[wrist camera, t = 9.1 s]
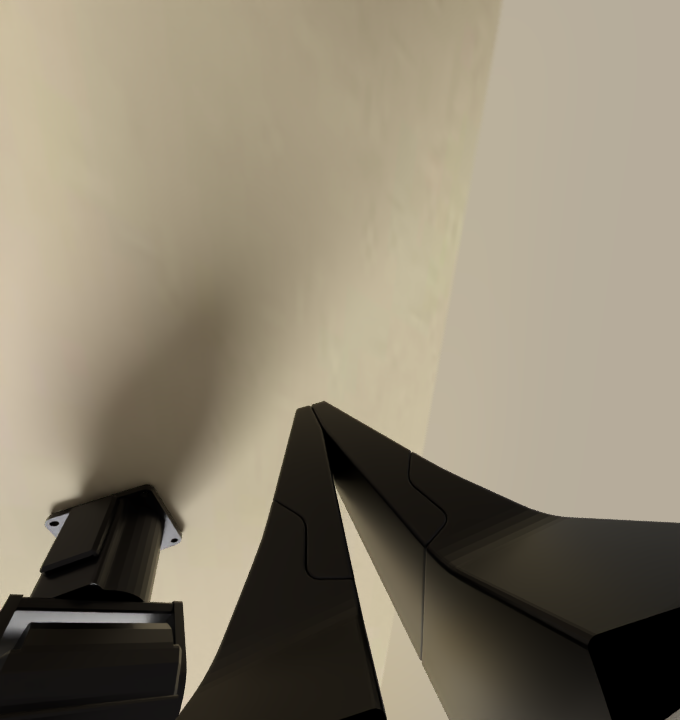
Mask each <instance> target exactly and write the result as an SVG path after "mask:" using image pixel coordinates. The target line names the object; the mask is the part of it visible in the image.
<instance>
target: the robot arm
mask: <svg viewBox="0 0 680 720" xmlns="http://www.w3.org/2000/svg"><path fill="white" fill-rule="evenodd" d="M334 484H335V485H334ZM335 486H336V488H337V491H338V493H339V495H340V497H341V499H342V501H343V503H344V505H345V507H346V509H347V511H348V513H349V515H350V517H351V519H352V521H353V523H354V525H355V527H356V529H357V532H358V534H359V536H360V538H361V540H362V542H363V544H364V546H365V548H366V550H367V552H368V554H369V556H370V558H371V560H372V562H373V564H374V566H375V568H376V570H377V572H378V575H379V577H380V579H381V581H382V583H383V585H384V587H385V589H386V591H387V593H388V595H389V597H390V599H391V601H392V603H393V605H394V607H395V609H396V611H397V613H398V616H399V617H400V619H401V622H402V624H403V626H404V628H405V630H406V632H407V634H408V636H409V638H410V640H411V642H412V644H413V646H414V648H415V650H416V652H417V654H418V656H419V659H420V660H421V661H422V665H423V667H424V669H425V671H426V673H427V675H428V677H429V679H430V681H431V683H432V685H433V687H434V689H435V692H436V694H437V696H438V698H439V700H440V702H441V704H442V706H443V708H444V710H445V712H446V714H447V716H448V718H449V720H680V523H671V522H652V521H631V520H613V519H593V518H573V517H561V516H555V515H550V514H546V513H542V512H539V511H536V510H533V509H530V508H528V507H525V506H523V505H521V504H518V503H516V502H514V501H512V500H510V499H507V498H505V497H503V496H501V495H499V494H496V493H494V492H492V491H490V490H488V489H485V488H483V487H481V486H479V485H476V484H474V483H472V482H470V481H468V480H465V479H463V478H461V477H459V476H457V475H455V474H453V473H451V472H449V471H447V470H445V469H443V468H441V467H439V466H437V465H435V464H434V463H432V462H430V461H428V460H426V459H424V458H423V457H421V456H419V455H417V454H416V453H414V452H411V451H410V450H409V449H407V448H405V447H403V446H402V445H400V444H398V443H396V442H395V441H393V440H391V439H389V438H388V437H386V436H384V435H383V434H381V433H379V432H377V431H376V430H374V429H372V428H370V427H369V426H367V425H365V424H364V423H362V422H360V421H358V420H357V419H355V418H353V417H351V416H350V415H348V414H346V413H344V412H343V411H341V410H339V409H338V408H336V407H334V406H332V405H331V404H329V403H327V402H325V401H322V402H319V403H316V404H313V405H312V406H305V407H302V408H298V409H297V410H296V413H295V417H294V421H293V425H292V428H291V432H290V436H289V440H288V444H287V448H286V452H285V455H284V459H283V463H282V467H281V471H280V475H279V479H278V482H277V486H276V490H275V494H274V498H273V502H272V505H271V509H270V513H269V516H268V520H267V523H266V527H265V530H264V533H263V537H262V540H261V543H260V545H259V548H258V551H257V553H256V556H255V559H254V562H253V564H252V567H251V569H250V572H249V574H248V577H247V580H246V582H245V585H244V587H243V590H242V592H241V595H240V597H239V600H238V602H237V605H236V607H235V610H234V612H233V615H232V617H231V620H230V622H229V625H228V627H227V630H226V633H225V635H224V637H223V640H222V642H221V645H220V647H219V649H218V652H217V654H216V656H215V658H214V660H213V662H212V664H211V666H210V668H209V670H208V672H207V674H206V675H205V677H204V679H203V681H202V682H201V684H200V685H199V687H198V689H197V690H196V692H195V693H194V695H193V696H192V698H191V699H190V700H189V702H188V703H187V704H186V706H185V707H184V709H183V710H182V711H181V713H180V714H179V712H180V709H181V704H182V700H183V695H184V689H185V683H186V672H187V669H186V647H185V632H184V616H183V602H182V601H173V602H172V603H163V602H150V599H151V594H152V589H153V584H154V579H155V574H156V569H157V564H158V559H159V554H160V550H162V549H165V548H168V547H171V546H173V545H176V544H178V543H180V542H181V539H182V533H181V532H180V530H179V528H178V527H177V525H176V523H175V522H174V520H173V519H172V517H171V515H170V514H169V512H168V510H167V509H166V507H165V505H164V504H163V502H162V500H161V499H160V497H159V496H158V494H157V492H156V491H155V489H154V487H152V486H150V485H143V486H140V487H137V488H134V489H130V490H127V491H124V492H121V493H118V494H114V495H111V496H108V497H105V498H102V499H99V500H95V501H92V502H89V503H86V504H83V505H79V506H76V507H73V508H70V509H67V510H64V511H60V512H57V513H54V514H52V515H50V516H49V517H48V518H47V520H46V522H45V526H46V528H47V529H48V530H49V531H50V532H51V533H52V534H53V535H54V536H55V537H56V539H55V541H54V543H53V545H52V547H51V549H50V551H49V553H48V555H47V557H46V559H45V560H44V562H43V564H42V566H41V568H40V572H41V573H42V574H41V576H40V578H39V580H38V582H37V584H36V586H35V588H34V590H33V592H32V594H31V596H30V597H23V595H17V594H10V596H9V597H8V599H7V601H6V602H5V604H4V606H3V607H2V609H1V610H0V720H387V717H386V713H385V709H384V705H383V700H382V697H381V692H380V688H379V683H378V679H377V675H376V671H375V667H374V662H373V658H372V654H371V650H370V646H369V641H368V637H367V633H366V629H365V624H364V620H363V616H362V611H361V607H360V602H359V598H358V593H357V588H356V584H355V579H354V574H353V570H352V565H351V560H350V556H349V551H348V546H347V541H346V537H345V532H344V527H343V523H342V518H341V513H340V509H339V504H338V499H337V494H336V490H335ZM144 492H148V493H144Z"/></svg>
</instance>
